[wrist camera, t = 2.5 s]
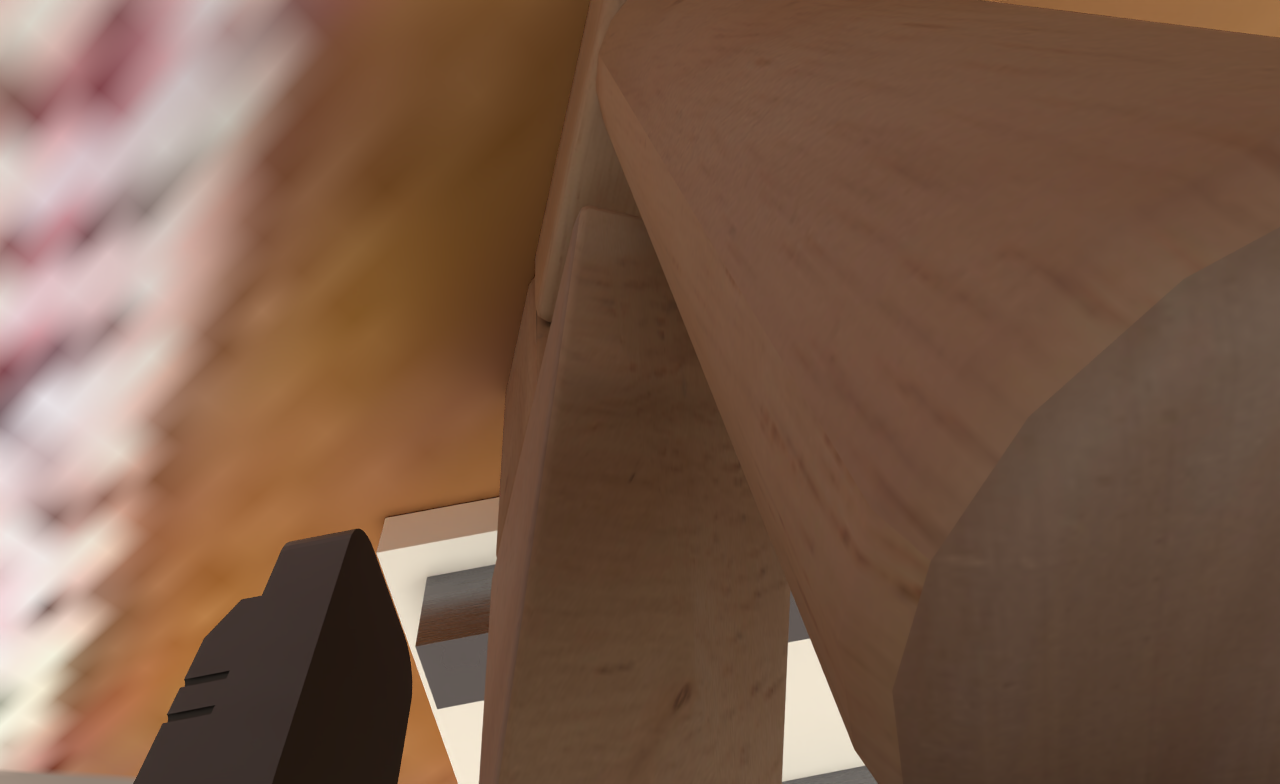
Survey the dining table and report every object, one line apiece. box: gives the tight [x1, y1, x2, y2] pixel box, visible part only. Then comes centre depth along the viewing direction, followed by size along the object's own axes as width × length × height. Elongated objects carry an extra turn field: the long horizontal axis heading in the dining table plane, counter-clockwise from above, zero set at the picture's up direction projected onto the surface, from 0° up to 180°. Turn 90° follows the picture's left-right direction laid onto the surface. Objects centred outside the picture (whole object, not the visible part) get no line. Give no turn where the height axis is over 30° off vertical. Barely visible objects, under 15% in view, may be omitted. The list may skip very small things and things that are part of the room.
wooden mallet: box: [479, 0, 1280, 784], centre depth 12 cm, size 4×11×18 cm, turn 165°
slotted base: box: [377, 497, 878, 784], centre depth 25 cm, size 14×19×4 cm
